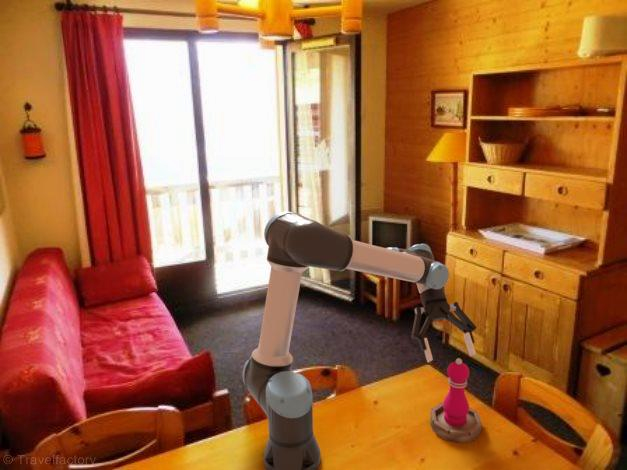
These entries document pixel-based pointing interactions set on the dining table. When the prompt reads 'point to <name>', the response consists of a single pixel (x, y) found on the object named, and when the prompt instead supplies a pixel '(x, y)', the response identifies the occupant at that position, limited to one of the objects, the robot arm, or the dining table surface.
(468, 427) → the bowl
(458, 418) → the pepper mill
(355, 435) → the dining table surface
